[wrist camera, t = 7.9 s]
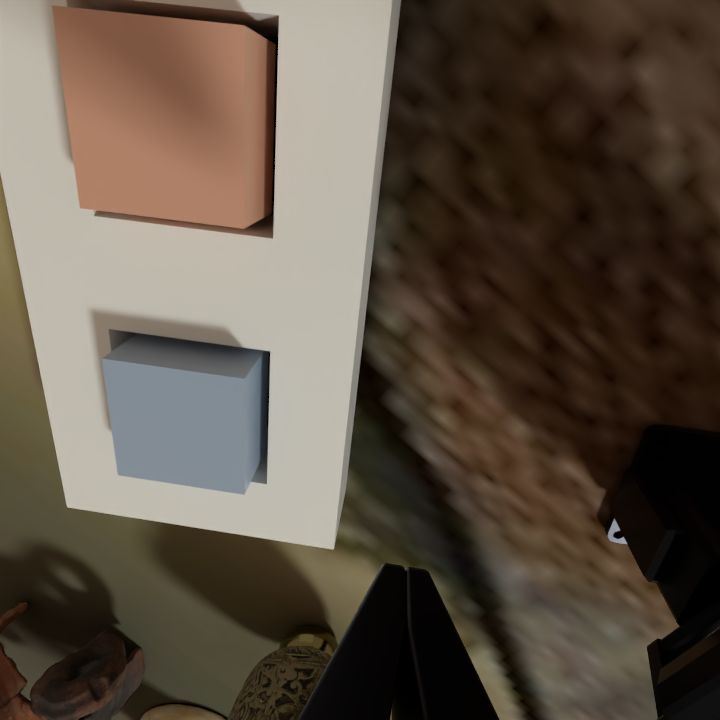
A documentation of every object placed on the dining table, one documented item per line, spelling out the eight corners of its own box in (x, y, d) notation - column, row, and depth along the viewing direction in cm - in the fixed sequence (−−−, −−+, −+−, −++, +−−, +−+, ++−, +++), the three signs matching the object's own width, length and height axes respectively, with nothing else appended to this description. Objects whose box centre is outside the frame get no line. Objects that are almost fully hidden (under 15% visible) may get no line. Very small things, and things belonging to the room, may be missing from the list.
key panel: (408, -63, 15) (405, -122, 12) (345, 488, 25) (333, 549, 21) (42, -97, 16) (-67, -163, 12) (116, 453, 25) (67, 507, 22)
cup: (228, 624, 30) (169, 779, 23) (319, 580, 28) (285, 737, 21) (305, 692, 32) (273, 853, 25) (397, 656, 30) (390, 824, 23)
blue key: (268, 344, 19) (244, 378, 17) (266, 448, 21) (244, 494, 19) (145, 327, 20) (101, 358, 17) (155, 432, 22) (117, 475, 19)
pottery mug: (110, 702, 36) (-23, 801, 29) (64, 580, 37) (-74, 648, 31) (195, 695, 29) (47, 822, 23) (136, 546, 31) (-22, 625, 24)
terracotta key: (275, 44, 15) (244, 25, 12) (271, 213, 17) (244, 228, 14) (116, 27, 15) (51, 5, 12) (132, 196, 17) (80, 207, 15)
